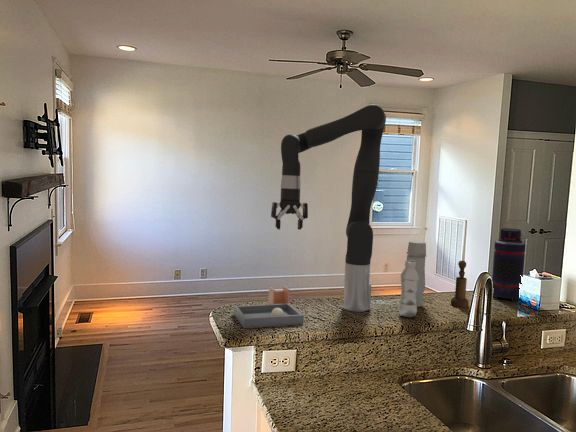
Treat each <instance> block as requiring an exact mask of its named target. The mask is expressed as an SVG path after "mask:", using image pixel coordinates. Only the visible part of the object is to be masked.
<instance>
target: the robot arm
mask: <svg viewBox="0 0 576 432" xmlns="http://www.w3.org/2000/svg"><path fill="white" fill-rule="evenodd" d="M386 122H387V115H386V113H385V111H384V109H383V108H382V107H381V106H380V105H378V104H372V103H371V104H367V105H366V106H363V107H362V108H360V109H357V110H356V111H354V112H353V113H350V114H348V115H346V116H343V117H341V118H339V119H336V120H332V121H330V122H326V123H324V124H320V125H317V126H314V127H312V128H309V129H307V130H306V131H305V132H301V133H299V134H297V135H294V134H292V133H291V134H287V135H285V136H284V137H283V138H282V139H281V143H280V152H281V153H280V155H281V161H282V162H281V163H282V169H281V178H280V179H281V180H280V199H279V200H280V201H279V202H275V201H272V204H271V214H270V217H271V218H273V219H275V228H276V229H277V230H281V221H282V220H281V219H282V217H283V216H284V215H289V214H291V215H295V216H296V217H297V230H299V231H300V230H302V229H303V225H304V224H303V223H304V220H305V219H308V218H309V210H308V209H309V207H308V206H309V205H308V203H306V202H301V184H302V183H301V162H300V160H299V158H300V157H299V156H300V155H299V154H300V153H303V152H306V151H308V150H310V149H311V148H315V147H319V146H322V145H325V144H328V143H331V142H333V141H335V140H337V139H340V138H342V137H343V136H346V135H349V134H351V133H355V132H359V131H361V134H360V135H361V138H360V139H361V141H360V146H359V150H358V152H357V155H356V159H355V163H354V167H353V173H352V174H353V175H352V183H351V184H352V185H351V203H350V204H351V205H350V212H349V216H348V220H347V224H346V227H345V228H346V229H345V235H346V238H347V242H346V253H345V258H344V259H345V260H344V261H345V262H344V264H345V265H344V281H343V282H344V285H343V301H342V302H343V303H342V308H343V309H344V310H346V311H349V312H361V313H362V312H366V311H370V310H371V302H372V301H371V300H372V299H371V297H372V284H370V277H371V276H370V275H371V274H370V273H371V259H372V256H373V245H374V231H373V228H372V226H371V224H370V217H371V208H372V203H373V201H374V198H375V194H376V191H377V187H378V182H379V175H380V174H379V173H380V166H381V165H380V164H381V163H380V162H381V143H382V139H383V133H384V130H385V127H386V126H385V125H386ZM278 208H280V210H279V211H278V213H277V209H278ZM300 208H301V209H302V212H300V210H299V209H300Z"/></svg>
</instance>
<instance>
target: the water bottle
mask: <svg viewBox="0 0 576 432" xmlns="http://www.w3.org/2000/svg"><path fill="white" fill-rule="evenodd" d="M426 257H428V255H427V242H425V241H420V240H419V241H418V240H410V241H408V245H407V252H406V261H415V262H416V267H415V270H416V271H417V273H418V275H419V280H418V284H417V291H416V305H417V308H420V307H421V308H422V306H423V304H424V303H423V302H424V301H423V300H424V292H425V291H426V288H425V287H426V269H425V268H426Z"/></svg>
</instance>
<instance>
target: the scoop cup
mask: <svg viewBox="0 0 576 432" xmlns="http://www.w3.org/2000/svg"><path fill="white" fill-rule="evenodd" d="M285 303H289V304H290V289H289V288H288V287H287V286H285V285H282V290H276V289H275V288H273V287H272V286H269V287H268V304H285Z"/></svg>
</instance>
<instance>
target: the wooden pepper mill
mask: <svg viewBox="0 0 576 432" xmlns="http://www.w3.org/2000/svg"><path fill="white" fill-rule="evenodd" d="M457 265H458V268H459V272H458V275H459V276H456V277H455V293H454V296H453V297H451V299H450V305H451V306H453V307H456V308H469V306H470V305H469V304H470V302H469V299H467V298H466V294H467V292H466V291H467V280H468V278H467V277H464V276H465V273H466V272H465V268H466V267H467V262H466V261H465V260H459V261H458V263H457Z"/></svg>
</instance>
